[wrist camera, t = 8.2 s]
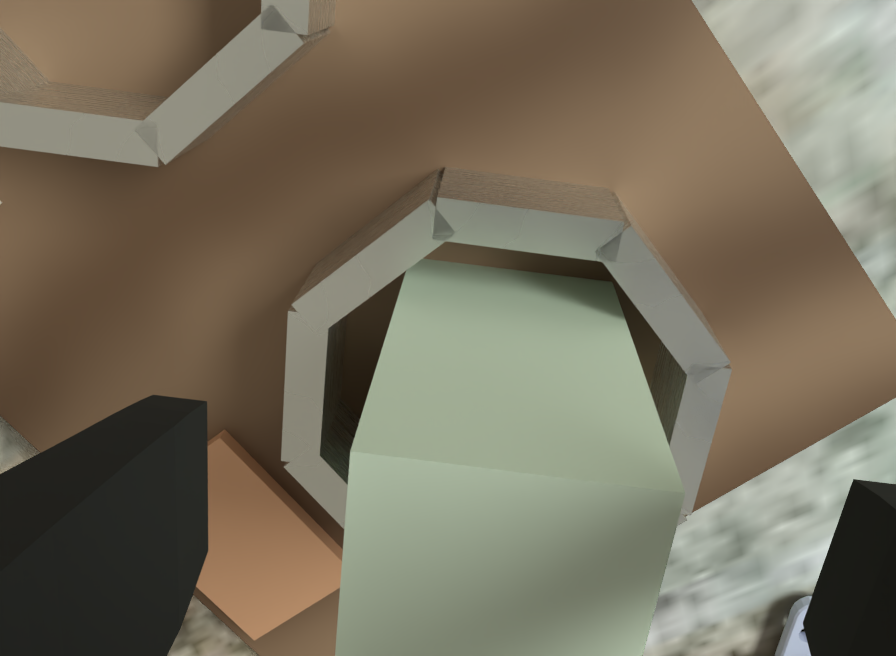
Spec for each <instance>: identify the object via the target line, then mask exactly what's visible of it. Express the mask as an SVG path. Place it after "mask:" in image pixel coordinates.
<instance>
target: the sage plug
mask: <svg viewBox="0 0 896 656" xmlns="http://www.w3.org/2000/svg"><path fill="white" fill-rule="evenodd" d="M684 497H685V491H684V488H683V485H682V482H681V479H680V476H679V473H678V470H677V467H676V465H675V462H674V459H673V456H672V453H671V450H670V447H669V444H668V441H667V438H666V436H665V433H664V430H663V427H662V424H661V421H660V418H659V415H658V412H657V410H656V407H655V404H654V401H653V398H652V395H651V392H650V389H649V386H648V384H647V381H646V378H645V375H644V372H643V369H642V366H641V363H640V360H639V358H638V355H637V352H636V349H635V346H634V343H633V340H632V337H631V334H630V331H629V329H628V326H627V323H626V320H625V317H624V314H623V311H622V308H621V305H620V303H619V300H618V297H617V294H616V291H615V288H614V285H613V282H609V281H601V280H593V279H585V278H576V277H568V276H560V275H552V274H544V273H536V272H528V271H520V270H512V269H504V268H495V267H487V266H479V265H471V264H463V263H455V262H447V261H439V260H431V259H423V258H422V259H421V260H420V261H418V262H417V263H416V264H414V265H413V266H412V267H410V268H409V269H408V270H406V273H405V276H404V279H403V283H402V286H401V289H400V292H399V295H398V299H397V302H396V305H395V308H394V312H393V315H392V318H391V321H390V324H389V328H388V331H387V334H386V337H385V341H384V344H383V347H382V350H381V354H380V357H379V360H378V363H377V366H376V370H375V373H374V376H373V379H372V383H371V386H370V389H369V392H368V395H367V399H366V402H365V405H364V408H363V412H362V415H361V418H360V421H359V425H358V428H357V431H356V434H355V437H354V441H353V444H352V447H351V450H350V461H349V474H348V488H347V501H346V515H345V528H344V541H343V555H342V568H341V582H340V595H339V608H338V622H337V635H336V649H335V656H643V653H644V649H645V645H646V641H647V637H648V634H649V630H650V626H651V622H652V618H653V615H654V611H655V607H656V603H657V599H658V596H659V592H660V588H661V584H662V580H663V577H664V573H665V569H666V565H667V562H668V558H669V554H670V550H671V546H672V543H673V539H674V535H675V531H676V527H677V524H678V520H679V516H680V512H681V508H682V505H683V501H684Z"/></svg>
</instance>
